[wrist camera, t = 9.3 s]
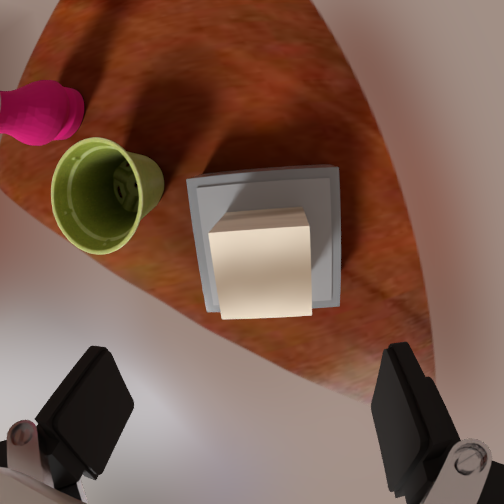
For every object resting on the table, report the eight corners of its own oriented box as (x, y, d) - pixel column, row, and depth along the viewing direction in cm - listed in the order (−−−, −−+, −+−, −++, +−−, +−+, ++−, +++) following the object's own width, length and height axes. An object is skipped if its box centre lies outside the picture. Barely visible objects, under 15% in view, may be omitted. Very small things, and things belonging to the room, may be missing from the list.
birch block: (225, 212, 23) (208, 232, 18) (302, 206, 23) (309, 225, 17) (234, 282, 25) (221, 319, 20) (305, 277, 25) (311, 315, 19)
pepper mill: (39, 134, 27) (-95, 153, 9) (57, 79, 25) (-78, 67, 6) (75, 151, 28) (-76, 180, 9) (97, 91, 26) (-57, 73, 7)
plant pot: (91, 160, 28) (39, 168, 20) (162, 123, 26) (119, 116, 18) (119, 237, 31) (74, 266, 23) (193, 210, 29) (160, 234, 21)
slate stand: (202, 174, 28) (185, 179, 23) (328, 164, 26) (339, 167, 21) (217, 288, 32) (206, 313, 27) (331, 282, 30) (339, 307, 25)
